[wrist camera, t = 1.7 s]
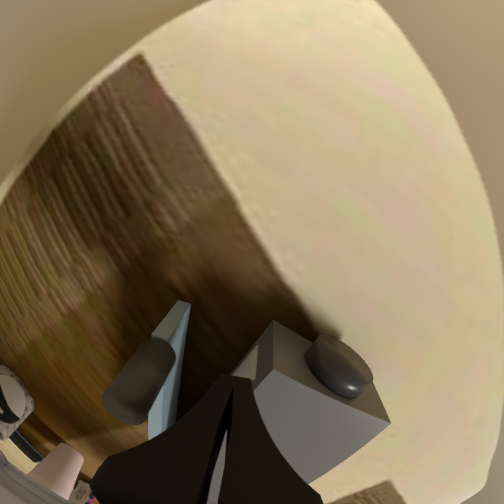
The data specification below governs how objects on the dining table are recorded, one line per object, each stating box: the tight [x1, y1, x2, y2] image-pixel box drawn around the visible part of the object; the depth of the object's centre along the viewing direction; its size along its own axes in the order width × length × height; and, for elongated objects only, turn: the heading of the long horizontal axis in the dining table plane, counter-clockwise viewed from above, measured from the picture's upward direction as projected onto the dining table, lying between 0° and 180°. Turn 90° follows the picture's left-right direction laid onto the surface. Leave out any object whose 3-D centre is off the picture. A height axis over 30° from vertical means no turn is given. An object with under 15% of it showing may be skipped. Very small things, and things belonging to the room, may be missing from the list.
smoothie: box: [27, 442, 84, 500], centre depth 16 cm, size 6×6×14 cm
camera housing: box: [208, 320, 391, 503], centre depth 16 cm, size 15×8×5 cm, turn 147°
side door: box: [102, 300, 191, 440], centre depth 14 cm, size 12×2×8 cm, turn 167°
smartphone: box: [9, 430, 44, 463], centre depth 25 cm, size 7×1×15 cm
